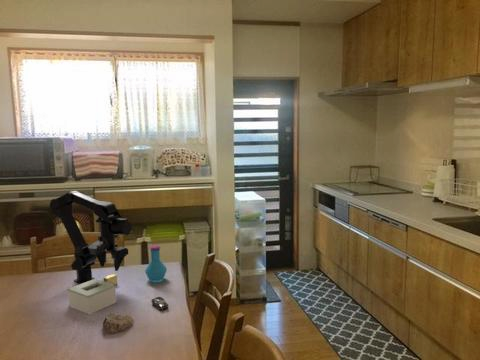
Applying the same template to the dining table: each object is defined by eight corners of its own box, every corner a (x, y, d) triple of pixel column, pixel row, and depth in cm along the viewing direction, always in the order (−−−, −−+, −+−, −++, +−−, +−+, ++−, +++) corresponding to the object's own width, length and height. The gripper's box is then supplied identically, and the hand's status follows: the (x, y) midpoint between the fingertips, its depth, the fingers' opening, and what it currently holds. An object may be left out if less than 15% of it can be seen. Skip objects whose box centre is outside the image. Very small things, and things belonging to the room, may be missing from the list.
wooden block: (103, 286, 168) (103, 277, 168) (113, 282, 172) (113, 273, 172) (107, 287, 167) (107, 278, 166) (117, 283, 171) (116, 274, 171)
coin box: (69, 306, 149) (68, 288, 148) (96, 295, 159) (95, 278, 158) (89, 314, 143) (87, 295, 142) (116, 302, 153) (115, 284, 152)
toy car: (160, 312, 144) (159, 291, 143) (146, 301, 154) (145, 281, 153) (169, 309, 147) (169, 288, 146) (155, 298, 156) (154, 279, 155)
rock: (102, 337, 127) (134, 327, 130) (98, 319, 128) (129, 309, 130) (105, 331, 136) (134, 321, 138) (101, 314, 136) (130, 304, 139)
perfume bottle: (169, 275, 179) (168, 243, 178) (163, 283, 170) (162, 249, 168) (149, 275, 180) (148, 243, 178) (142, 283, 171) (141, 249, 169)
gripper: (77, 234, 165) (79, 270, 167) (106, 241, 155) (107, 279, 157) (99, 228, 174) (101, 262, 177) (128, 234, 164) (130, 270, 166)
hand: (109, 268), depth 169 cm, fingers open, 9 cm apart
